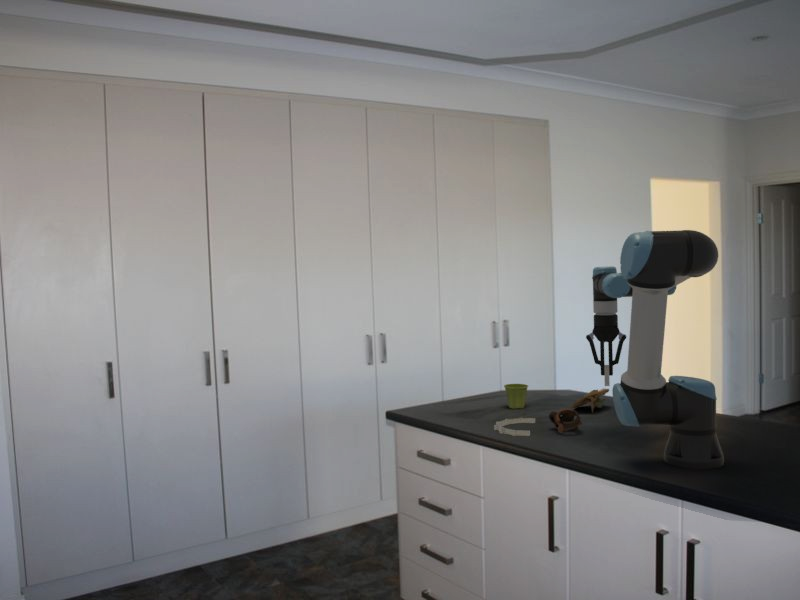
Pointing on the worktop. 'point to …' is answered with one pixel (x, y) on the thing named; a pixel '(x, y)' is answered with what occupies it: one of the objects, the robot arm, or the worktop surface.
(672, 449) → the robot arm
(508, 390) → the plant pot
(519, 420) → the grey u-shaped piece
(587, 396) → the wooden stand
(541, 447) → the worktop surface
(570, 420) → the pottery mug
